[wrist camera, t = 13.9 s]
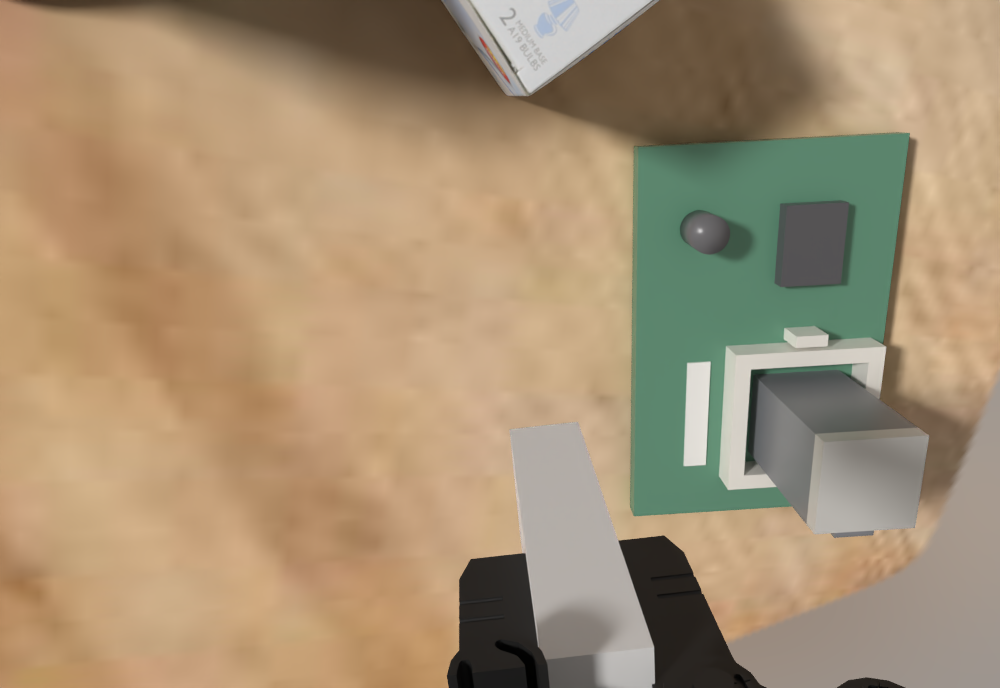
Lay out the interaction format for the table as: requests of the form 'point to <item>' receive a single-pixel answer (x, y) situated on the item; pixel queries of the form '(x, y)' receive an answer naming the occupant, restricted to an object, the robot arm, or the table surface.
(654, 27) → the table surface
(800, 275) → the board
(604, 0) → the light bulb box
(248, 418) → the table surface
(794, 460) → the block
